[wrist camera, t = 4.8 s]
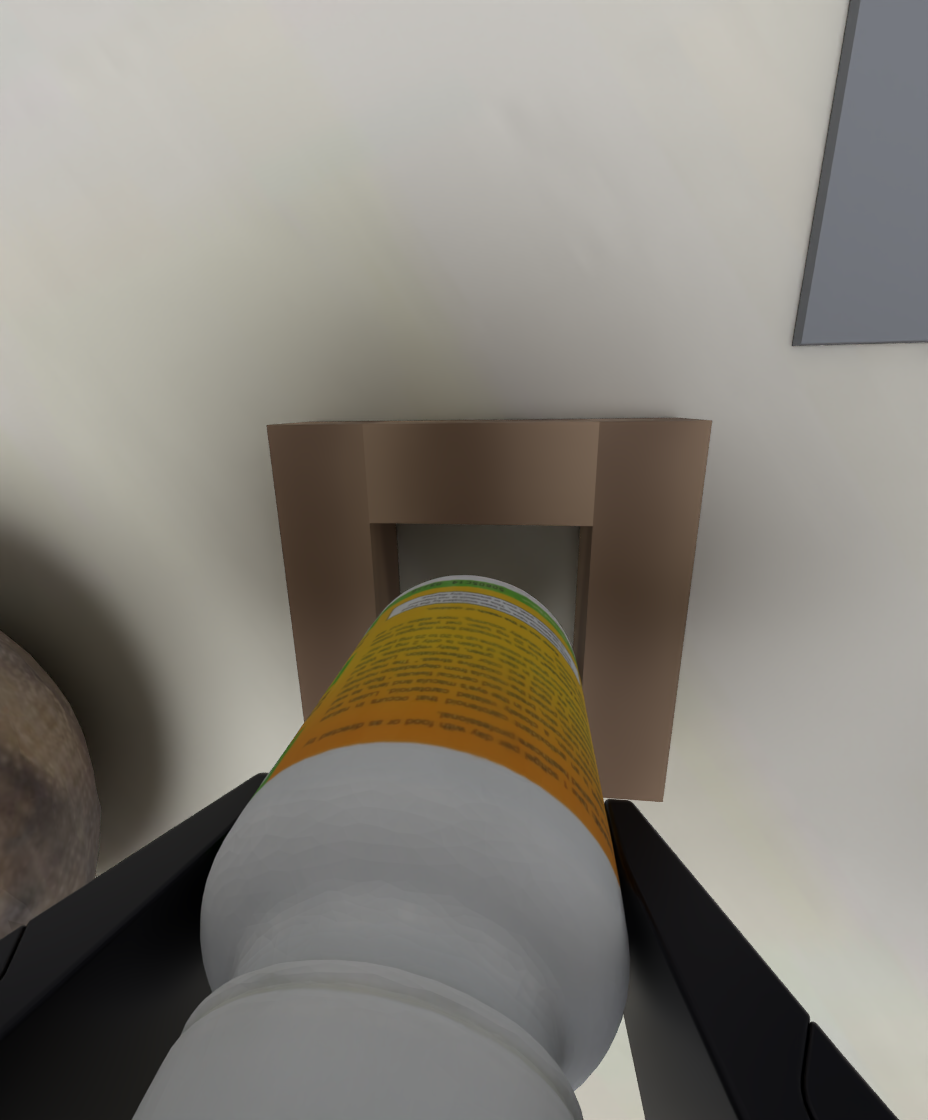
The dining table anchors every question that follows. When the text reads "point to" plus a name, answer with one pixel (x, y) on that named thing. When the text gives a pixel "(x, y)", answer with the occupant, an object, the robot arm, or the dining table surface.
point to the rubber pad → (873, 187)
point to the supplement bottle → (416, 889)
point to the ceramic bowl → (41, 793)
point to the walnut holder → (508, 499)
